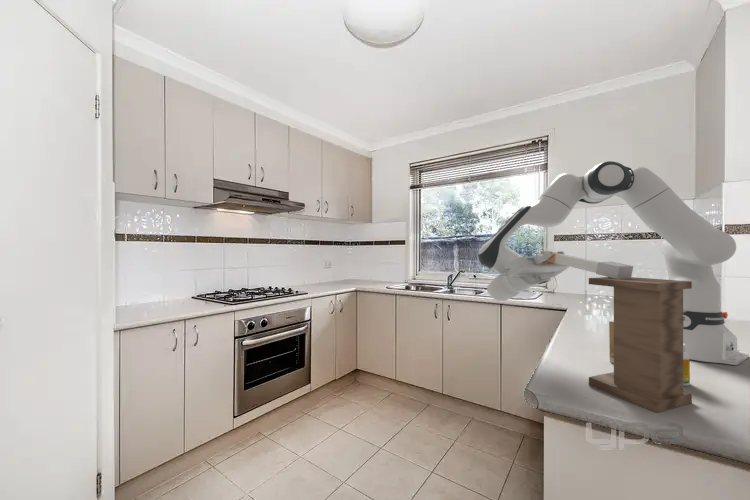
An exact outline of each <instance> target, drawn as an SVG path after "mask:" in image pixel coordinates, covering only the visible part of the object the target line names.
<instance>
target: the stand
mask: <svg viewBox="0 0 750 500" xmlns="http://www.w3.org/2000/svg"><path fill="white" fill-rule="evenodd" d="M588 285H591V286H594V285H595V286H602V287H603V286H604V287H612V288H613V321H614V363H613V372H609V373H602V374H597V375H593V376H592V375H591V376H589V377H588V386H590V387H592V388H594V389H597V390H600V391H602V392H604V393H607V394H609V395H612V396H615V397H617V398H620V399H622V400H624V401H626V402H629V403H632V404H633V405H634V404H635V405H637V406H638V407H641V408H643V409H646V410H648V411H650V412H654V413H660V412H664V411H667V410H671V409H675V408H678V407H682V406H685V405H689V404H692V402H693V399H692V398H693V395H692V392H688V391H686V390H684V386H683V289H692V282H691V281H677V280H669V279H660V278H650V277H649V278H647V277H636V276H635V277H634V276H631V278H628V279H615V278H611V277H607V276H603V277H602V276H601V277H588Z"/></svg>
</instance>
